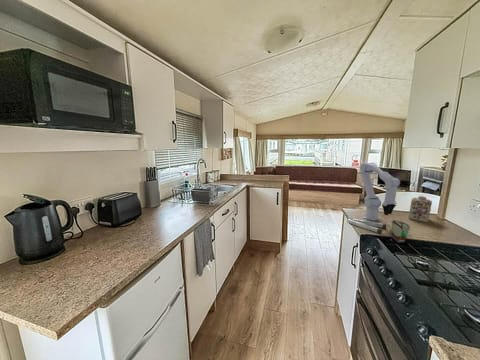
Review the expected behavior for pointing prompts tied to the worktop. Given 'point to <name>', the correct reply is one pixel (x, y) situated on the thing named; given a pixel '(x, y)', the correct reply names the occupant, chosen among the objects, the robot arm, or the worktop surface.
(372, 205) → the robot arm
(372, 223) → the hinged tong arm
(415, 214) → the decorative jar
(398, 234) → the food container
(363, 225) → the fixed tong arm
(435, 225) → the worktop surface
